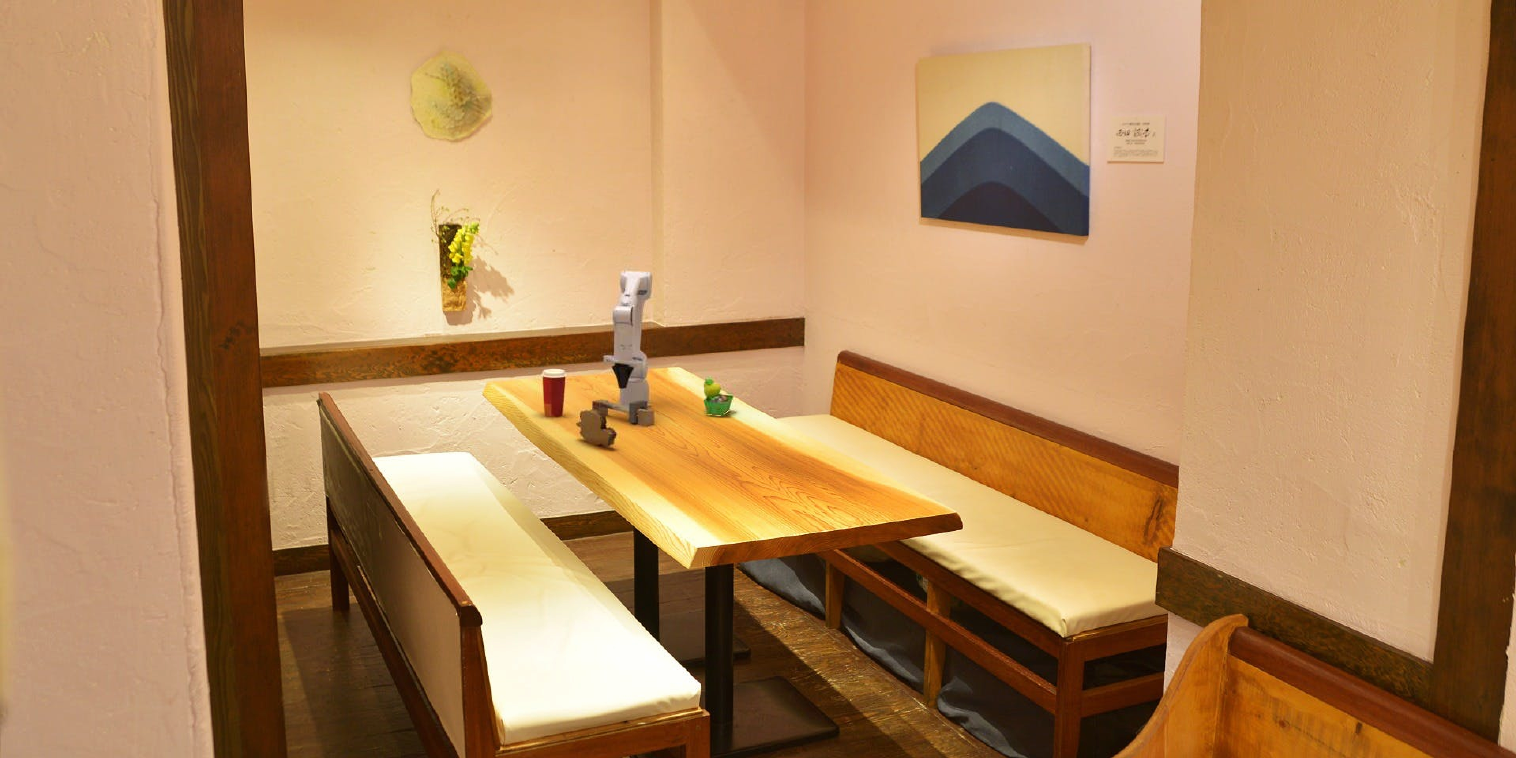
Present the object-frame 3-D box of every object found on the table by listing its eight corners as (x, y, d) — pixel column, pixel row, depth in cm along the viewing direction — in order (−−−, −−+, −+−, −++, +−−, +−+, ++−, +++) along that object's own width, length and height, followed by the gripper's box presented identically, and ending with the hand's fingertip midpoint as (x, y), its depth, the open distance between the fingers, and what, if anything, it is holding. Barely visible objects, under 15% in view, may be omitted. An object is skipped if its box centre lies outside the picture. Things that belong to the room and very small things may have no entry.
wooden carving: (621, 448, 365) (622, 414, 363) (609, 451, 362) (610, 416, 360) (583, 437, 376) (583, 404, 374) (571, 440, 372) (571, 406, 370)
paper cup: (568, 413, 405) (569, 369, 403) (562, 418, 398) (563, 374, 395) (544, 411, 406) (544, 368, 403) (537, 416, 399) (538, 372, 396)
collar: (628, 422, 394) (629, 403, 393) (641, 419, 399) (642, 400, 398) (633, 423, 393) (634, 404, 392) (646, 420, 398) (647, 401, 397)
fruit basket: (725, 418, 407) (727, 383, 405) (698, 416, 409) (699, 381, 407) (733, 410, 418) (734, 376, 416) (707, 408, 420) (708, 374, 418)
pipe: (592, 414, 405) (592, 400, 404) (601, 412, 408) (601, 398, 407) (645, 426, 392) (645, 411, 391) (653, 424, 395) (654, 409, 394)
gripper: (597, 343, 396) (596, 386, 399) (632, 349, 388) (631, 393, 391) (612, 340, 402) (611, 383, 405) (648, 346, 394) (647, 390, 397)
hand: (622, 388), depth 398 cm, fingers closed
